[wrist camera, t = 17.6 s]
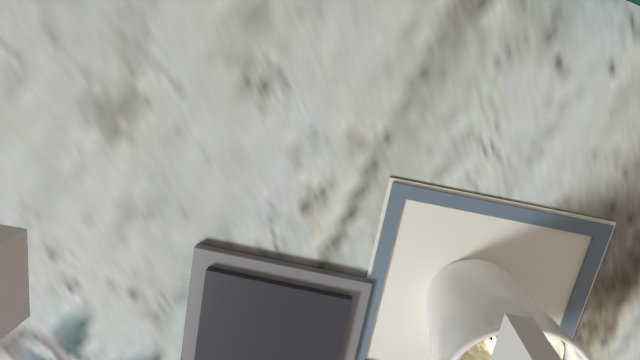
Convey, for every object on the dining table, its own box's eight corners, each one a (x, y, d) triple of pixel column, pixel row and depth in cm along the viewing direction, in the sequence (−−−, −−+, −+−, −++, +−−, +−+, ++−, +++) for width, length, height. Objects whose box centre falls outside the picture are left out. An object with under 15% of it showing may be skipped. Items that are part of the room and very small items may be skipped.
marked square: (389, 177, 38) (390, 178, 37) (615, 221, 37) (618, 223, 37) (345, 367, 42) (345, 370, 42) (544, 409, 42) (546, 413, 41)
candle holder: (496, 229, 38) (558, 301, 26) (548, 319, 39) (628, 425, 28) (394, 282, 40) (410, 370, 28) (448, 366, 41) (484, 483, 30)
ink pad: (198, 243, 40) (190, 251, 39) (371, 279, 40) (372, 288, 38) (179, 390, 45) (172, 403, 43) (337, 424, 44) (336, 438, 42)
